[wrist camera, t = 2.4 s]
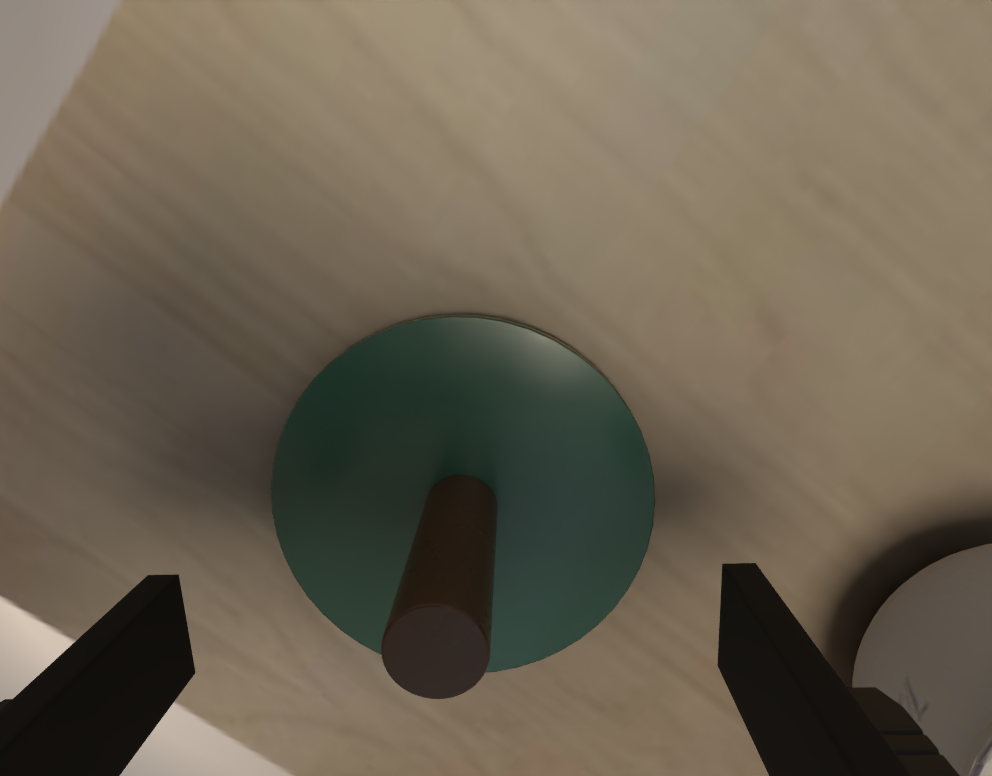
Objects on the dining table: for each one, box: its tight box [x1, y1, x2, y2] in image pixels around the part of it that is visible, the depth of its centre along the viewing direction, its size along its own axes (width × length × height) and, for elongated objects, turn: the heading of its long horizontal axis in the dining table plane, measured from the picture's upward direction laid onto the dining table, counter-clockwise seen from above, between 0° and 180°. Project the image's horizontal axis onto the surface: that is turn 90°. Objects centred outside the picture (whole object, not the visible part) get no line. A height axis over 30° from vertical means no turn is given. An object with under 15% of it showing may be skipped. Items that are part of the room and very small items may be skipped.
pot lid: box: [271, 314, 655, 699], centre depth 18 cm, size 13×13×9 cm
